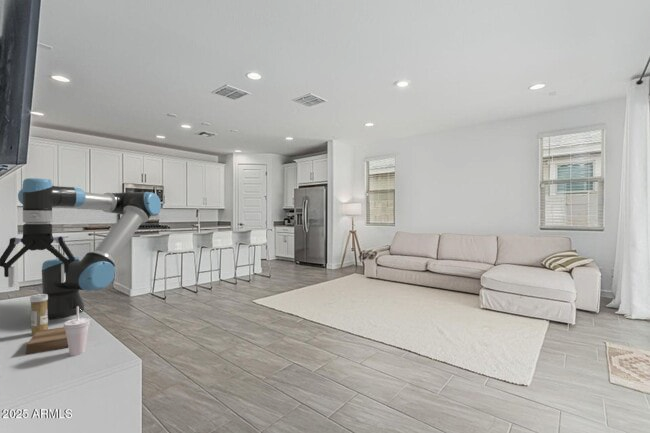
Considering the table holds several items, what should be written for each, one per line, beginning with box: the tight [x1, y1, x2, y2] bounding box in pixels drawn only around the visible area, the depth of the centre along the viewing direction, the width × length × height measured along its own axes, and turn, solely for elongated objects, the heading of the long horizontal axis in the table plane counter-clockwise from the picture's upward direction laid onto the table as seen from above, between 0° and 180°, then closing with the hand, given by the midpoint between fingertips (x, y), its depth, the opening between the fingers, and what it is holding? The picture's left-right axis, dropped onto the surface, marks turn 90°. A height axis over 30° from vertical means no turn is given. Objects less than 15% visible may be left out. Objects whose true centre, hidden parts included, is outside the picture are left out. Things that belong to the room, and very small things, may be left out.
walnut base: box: [25, 327, 68, 355], centre depth 102 cm, size 12×12×3 cm
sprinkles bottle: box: [29, 293, 49, 336], centre depth 109 cm, size 5×5×13 cm
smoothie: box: [63, 306, 91, 357], centre depth 95 cm, size 6×6×14 cm
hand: (38, 284), depth 109 cm, fingers open, 13 cm apart
